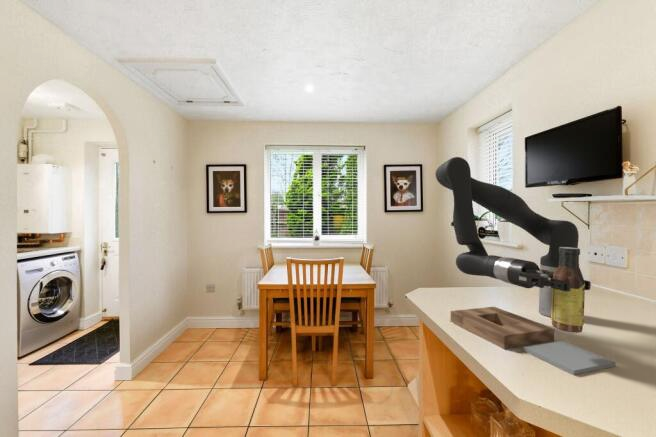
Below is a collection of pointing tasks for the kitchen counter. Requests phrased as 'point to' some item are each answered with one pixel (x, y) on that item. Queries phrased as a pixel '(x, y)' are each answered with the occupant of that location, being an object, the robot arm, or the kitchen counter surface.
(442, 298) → the kitchen counter surface
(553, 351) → the grey mat
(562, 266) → the sauce bottle
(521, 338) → the seat block
